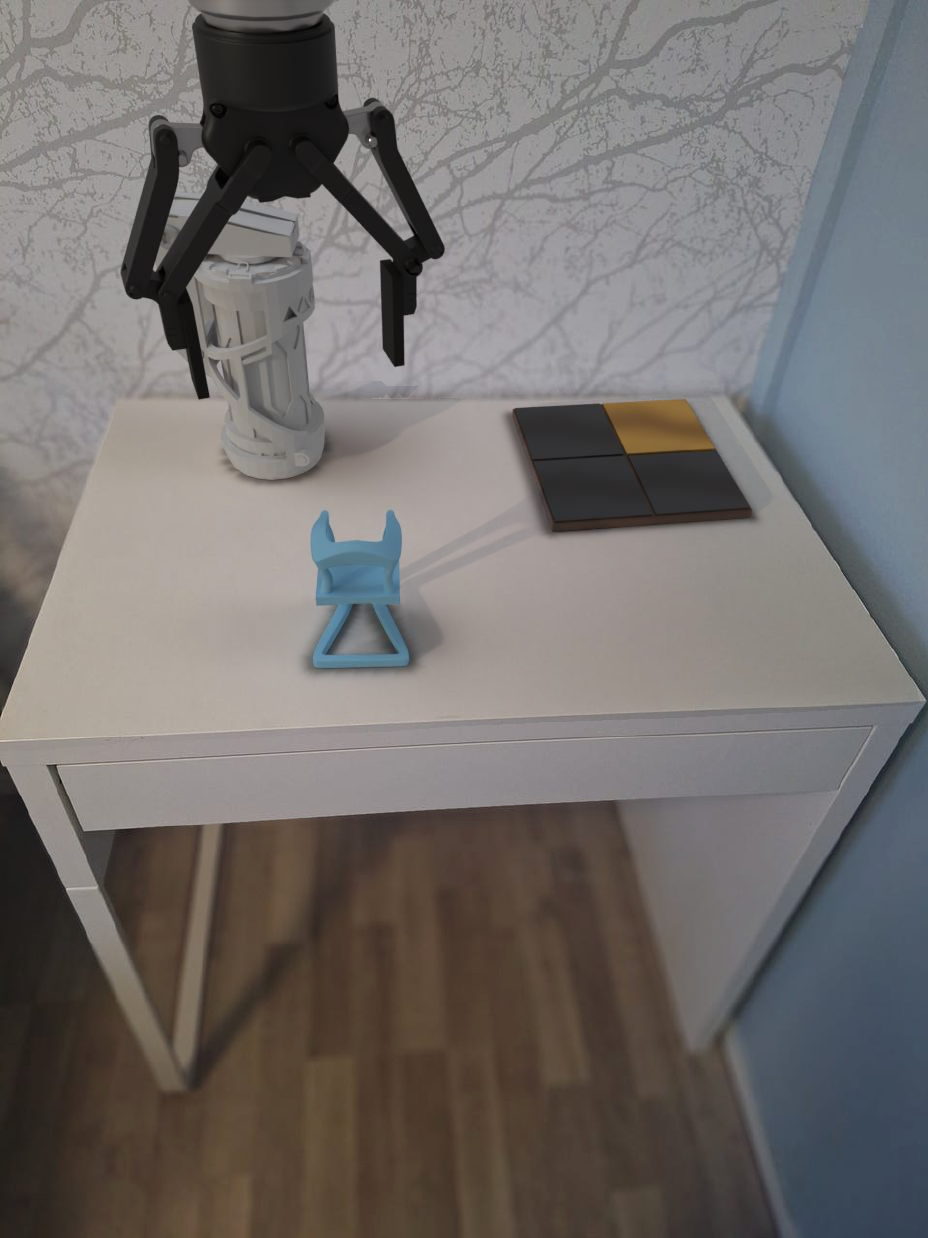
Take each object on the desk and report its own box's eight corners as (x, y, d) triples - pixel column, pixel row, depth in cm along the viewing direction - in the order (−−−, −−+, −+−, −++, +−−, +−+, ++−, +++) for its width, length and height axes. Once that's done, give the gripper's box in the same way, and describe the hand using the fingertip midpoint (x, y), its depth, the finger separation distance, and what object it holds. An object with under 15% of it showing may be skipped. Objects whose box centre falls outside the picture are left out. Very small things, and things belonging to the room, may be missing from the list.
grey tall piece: (332, 425, 99) (314, 183, 81) (320, 484, 91) (297, 232, 74) (211, 420, 99) (166, 177, 81) (189, 479, 91) (135, 225, 74)
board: (749, 517, 90) (753, 508, 90) (552, 531, 88) (553, 522, 87) (684, 406, 104) (686, 397, 103) (511, 416, 102) (512, 406, 101)
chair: (407, 596, 81) (406, 486, 72) (409, 666, 75) (408, 556, 66) (318, 597, 80) (307, 486, 72) (313, 668, 74) (300, 557, 66)
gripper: (457, -14, 55) (449, 321, 70) (7, 7, 48) (106, 374, 63) (506, 17, 50) (486, 370, 65) (14, 45, 43) (119, 433, 58)
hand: (300, 372), depth 64 cm, fingers open, 13 cm apart
